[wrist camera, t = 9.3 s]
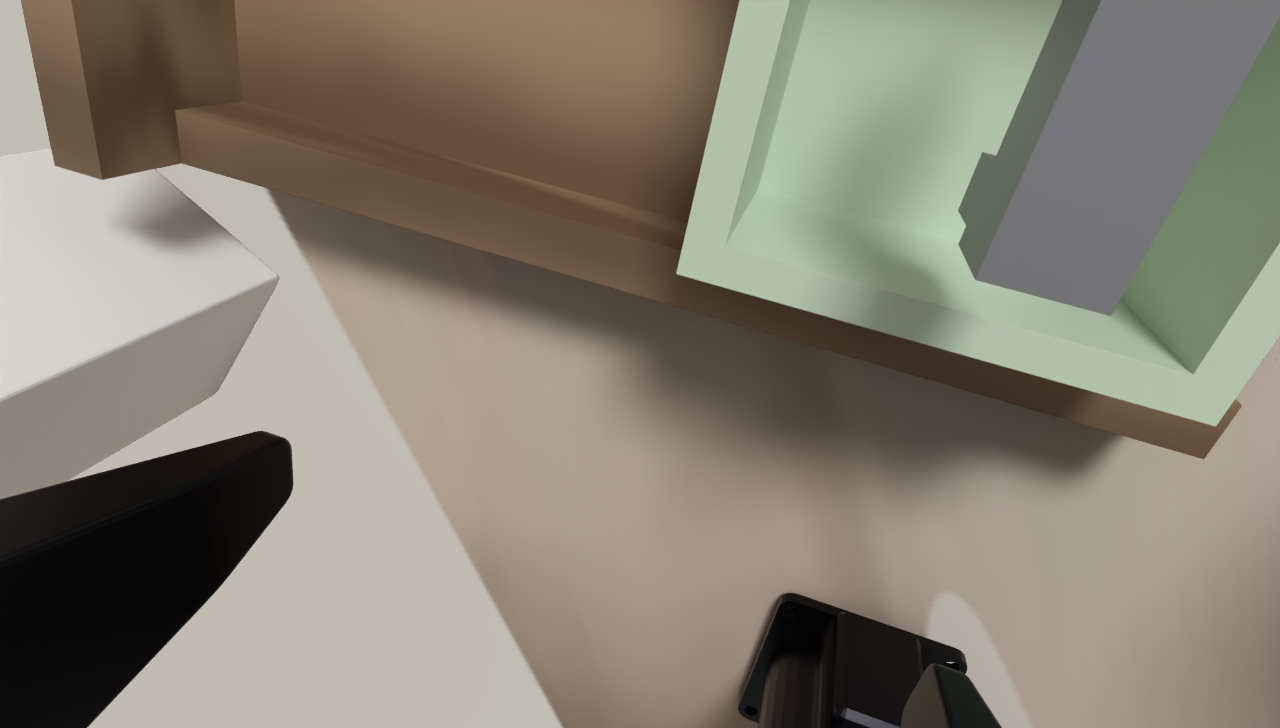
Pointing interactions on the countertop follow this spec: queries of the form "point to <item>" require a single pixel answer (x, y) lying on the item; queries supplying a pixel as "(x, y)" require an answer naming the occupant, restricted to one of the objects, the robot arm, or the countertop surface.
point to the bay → (471, 141)
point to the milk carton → (109, 313)
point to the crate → (1010, 183)
